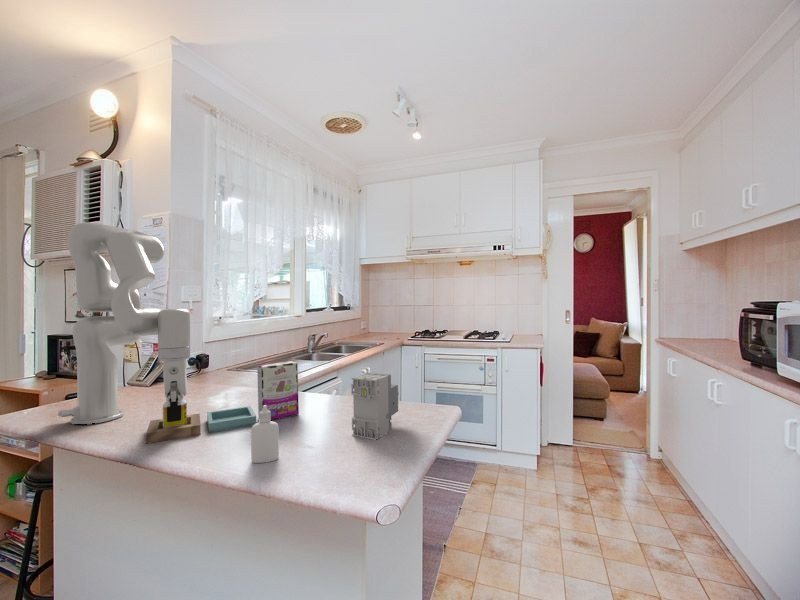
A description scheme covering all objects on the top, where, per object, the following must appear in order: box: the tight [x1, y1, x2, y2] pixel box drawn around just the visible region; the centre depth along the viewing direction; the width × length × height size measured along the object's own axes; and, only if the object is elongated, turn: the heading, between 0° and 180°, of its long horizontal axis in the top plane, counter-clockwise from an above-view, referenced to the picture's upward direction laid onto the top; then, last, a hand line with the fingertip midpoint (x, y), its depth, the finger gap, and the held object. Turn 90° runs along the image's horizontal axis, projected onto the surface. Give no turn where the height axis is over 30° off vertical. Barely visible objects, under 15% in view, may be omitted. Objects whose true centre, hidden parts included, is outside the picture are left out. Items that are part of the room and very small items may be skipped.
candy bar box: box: [256, 360, 300, 421], centre depth 110 cm, size 11×5×16 cm, turn 129°
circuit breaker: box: [350, 372, 399, 440], centre depth 98 cm, size 8×14×15 cm, turn 155°
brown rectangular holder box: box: [145, 413, 202, 445], centre depth 98 cm, size 12×12×2 cm
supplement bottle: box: [162, 394, 188, 428], centre depth 98 cm, size 6×6×10 cm
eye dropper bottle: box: [250, 405, 280, 464], centre depth 79 cm, size 4×6×12 cm
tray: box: [206, 405, 257, 434], centre depth 105 cm, size 12×12×2 cm
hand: (174, 416), depth 98 cm, fingers open, 9 cm apart
